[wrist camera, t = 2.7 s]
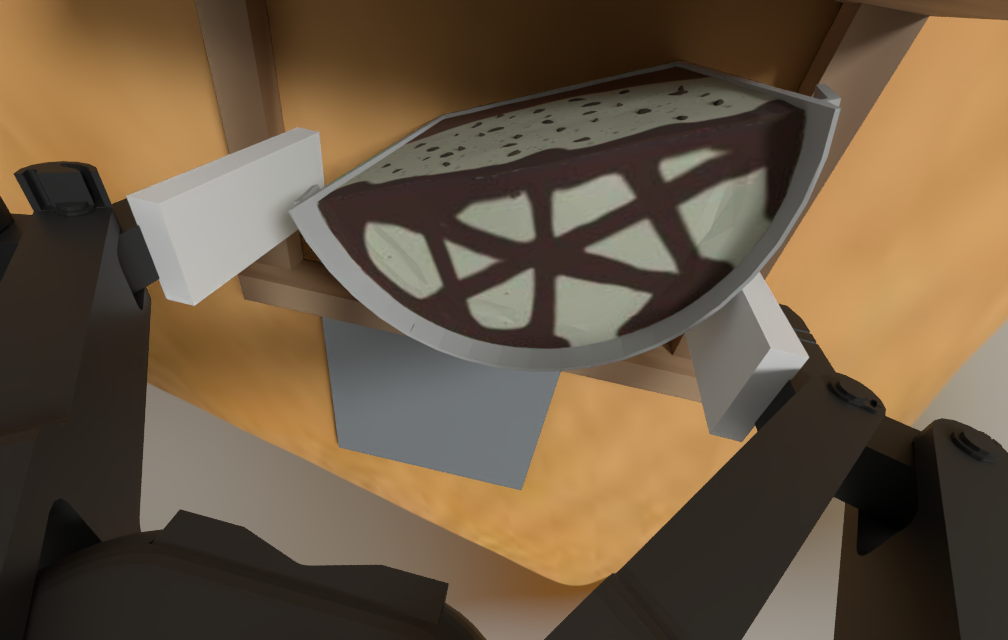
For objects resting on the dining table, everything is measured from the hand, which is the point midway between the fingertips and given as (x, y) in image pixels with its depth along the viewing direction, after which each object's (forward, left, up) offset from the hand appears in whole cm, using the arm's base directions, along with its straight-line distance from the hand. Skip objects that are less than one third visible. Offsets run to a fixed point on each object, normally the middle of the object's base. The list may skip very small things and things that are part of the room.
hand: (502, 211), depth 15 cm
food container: (+2, 0, -5) cm, 5 cm away
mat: (-3, -16, -5) cm, 17 cm away
